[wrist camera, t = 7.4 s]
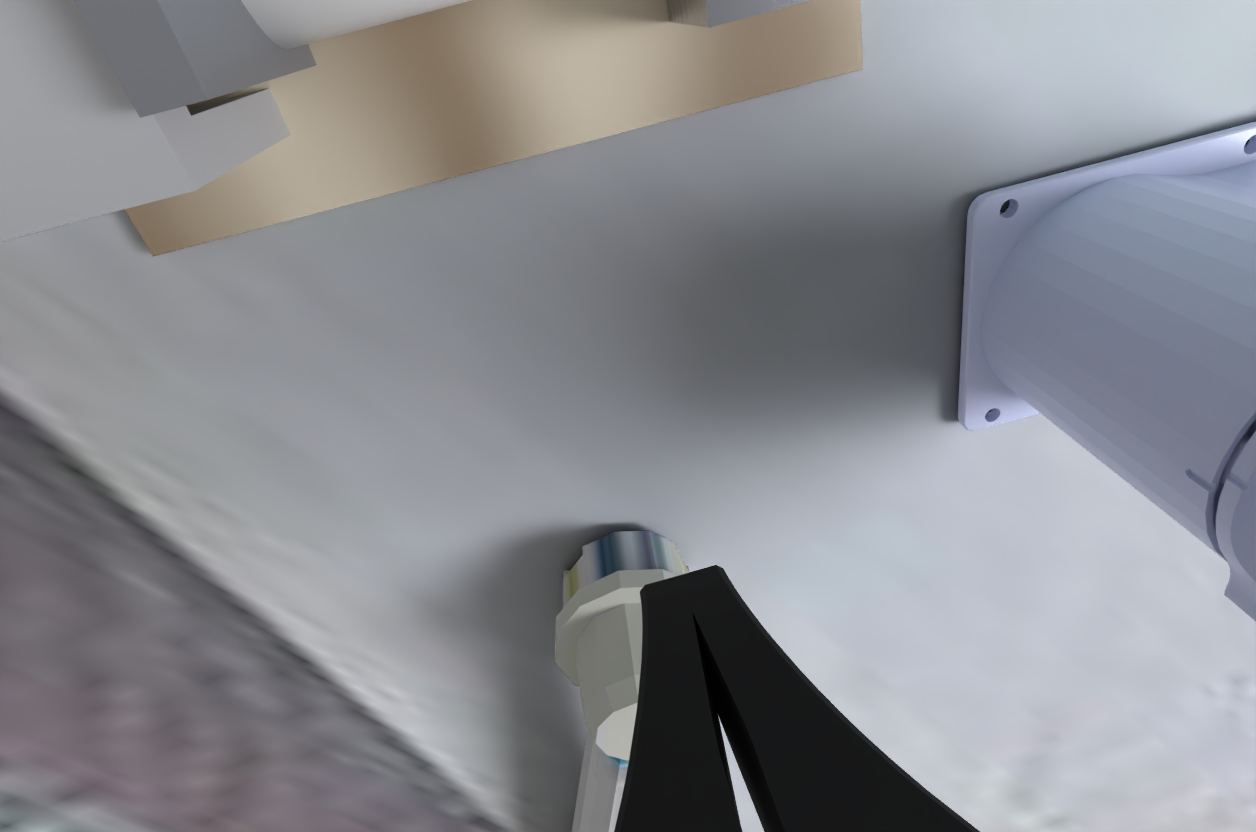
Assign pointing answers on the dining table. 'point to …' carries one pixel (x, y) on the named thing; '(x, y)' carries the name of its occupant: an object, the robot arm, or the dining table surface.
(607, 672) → the grey capped rod
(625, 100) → the board
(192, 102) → the tube
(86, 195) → the socket
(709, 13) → the grey parallel plates
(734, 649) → the robot arm
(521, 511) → the dining table surface
